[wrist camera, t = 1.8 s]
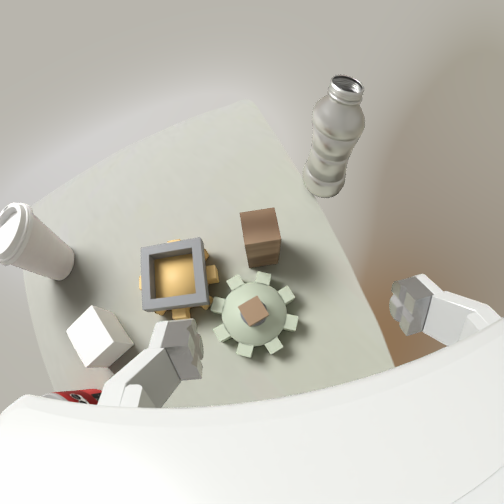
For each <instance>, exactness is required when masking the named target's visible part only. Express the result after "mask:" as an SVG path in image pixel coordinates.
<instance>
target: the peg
mask: <svg viewBox="0 0 504 504" xmlns="http://www.w3.org/2000/svg"><path fill="white" fill-rule="evenodd" d="M240 217H241V224H242V230H243V237H244V243H245V249H246V254H247V259H248V265H249V268H253V267H259V266H265V265H271V264H277V263H278V259H279V252H280V244H281V236H280V231H279V227H278V222H277V217H276V213H275V208H268V209H261V210H255V211H248V212H242V213H240Z"/></svg>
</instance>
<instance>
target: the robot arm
mask: <svg viewBox="0 0 504 504" xmlns="http://www.w3.org/2000/svg"><path fill="white" fill-rule="evenodd" d="M392 292H393V296H392V297H391V299H390V304H389V307H390V312H391V315H392V317H393V318H394V319H395V320H396V321H399V322H400V328H401V329H402V330H403V332H404V333H405V334H406V336H408V335H412V334H414V333H417V332H421V331H423V332H424V333H426V334H427V335H429V336H431V337H433V338H435V339H436V340H438V341H440V342H441V343H443V344H445V345H447V347H445V348H443V349H441V350H438V351H436V352H434V353H431V354H429V355H426V356H424V357H422V358H419V359H417V360H414V361H411V362H409V363H406V364H403V365H401V366H398V367H395V368H392V369H389V370H386V371H383V372H380V373H377V374H374V375H371V376H367V377H364V378H361V379H357V380H354V381H350V382H347V383H343V384H339V385H335V386H331V387H327V388H323V389H319V390H314V391H310V392H305V393H300V394H295V395H290V396H284V397H279V398H273V399H267V400H260V401H253V402H245V403H237V404H227V405H216V406H202V407H179V408H161V407H162V406H163V405H164V403H165V402H166V401H167V399H168V398H169V397H170V396H171V394H172V393H173V392H174V390H175V389H176V388H177V386H178V385H179V384H180V382H181V381H182V380H193V379H202V368H203V366H202V363H201V360H202V358H203V354H204V351H203V343H202V339H201V336H200V335H199V334H198V333H197V324H196V322H195V320H194V319H193V318H191V319H181V320H170V321H161V322H157V323H156V324H155V327H154V331H153V334H152V337H151V340H150V343H149V347H148V349H144V350H143V351H142V352H141V353H140V354H138V355H137V356H136V357H135V358H134V359H133V360H131V361H130V362H129V363H128V364H127V365H126V366H124V367H123V368H122V369H121V370H120V371H119V372H117V373H116V374H115V375H114V376H113V377H112V378H110V379H109V380H108V381H107V382H106V383H105V385H104V387H103V390H102V393H101V396H100V399H99V401H98V404H97V405H93V404H84V403H76V402H69V401H62V400H56V399H50V398H45V397H40V396H36V395H24V396H22V397H21V398H19V399H17V400H16V401H15V402H14V403H12V404H11V405H10V406H9V407H7V408H6V409H5V410H4V411H3V412H2V413H1V415H0V504H504V317H503V318H501V317H500V316H499V315H498V314H497V313H496V312H495V311H494V310H493V309H492V308H491V307H489V306H488V305H486V304H483V303H481V302H478V301H475V300H472V299H469V298H466V297H463V296H459V295H456V294H453V293H450V292H447V291H445V292H443V291H442V290H441V289H440V288H439V287H438V286H437V285H436V284H435V283H433V282H432V281H431V280H430V279H429V278H428V277H427V276H426V275H424V274H420V275H416V276H413V277H410V278H407V279H403V280H399V281H395V282H394V283H393V285H392Z"/></svg>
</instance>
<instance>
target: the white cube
mask: <svg viewBox="0 0 504 504" xmlns="http://www.w3.org/2000/svg"><path fill="white" fill-rule="evenodd" d="M66 332H67V334H68V336H69V338H70V340H71V342H72V344H73V346H74V348H75V350H76V351H77V353H78V355H79V357H80V359H81V360H82V362H83V364H84V365H85V367H86V368H99V367H109V366H110V365H111V364H113V363H114V362H115V361H116V360H117V359H118V358H119V357H121V356H122V355H123V354H124V353H125V352H126V351H127V350H128V349H130V348H131V347H132V346H133V345H134V343H133V342H132V340H131V339H130V337H129V336H128V334H127V333H126V331H125V330H124V328H123V327H122V325H121V324H120V322H119V321H118V319H117V318H116V316H115V314H114V313H113V312H111V311H108V310H105V309H102V308H99V307H96V306H94V305H91V306H90V307H89V308H88V309H87V310H86V311H85V312H84V313H83V314H82V315H81V316H80V317H79V318H78V319H77V320H76V321H75V322H74V323H73V324H72V325H71V326H70V327H69V328H68V329H67V330H66Z"/></svg>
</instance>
